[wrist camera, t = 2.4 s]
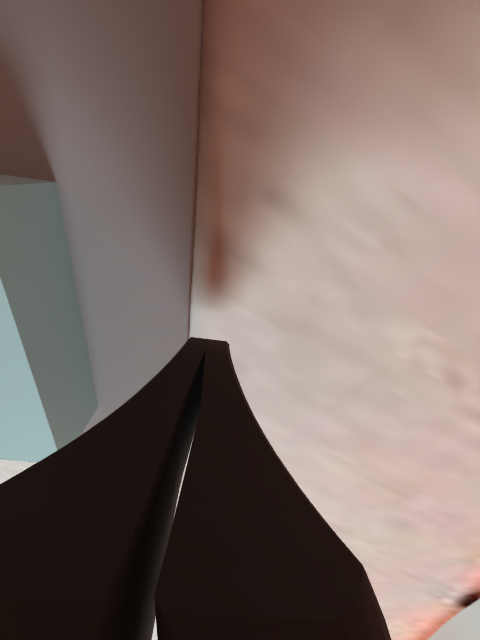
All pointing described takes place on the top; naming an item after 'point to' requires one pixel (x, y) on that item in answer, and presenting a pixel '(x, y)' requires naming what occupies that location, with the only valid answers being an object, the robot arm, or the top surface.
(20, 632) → the robot arm
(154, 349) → the mat
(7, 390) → the t block
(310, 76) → the top surface
